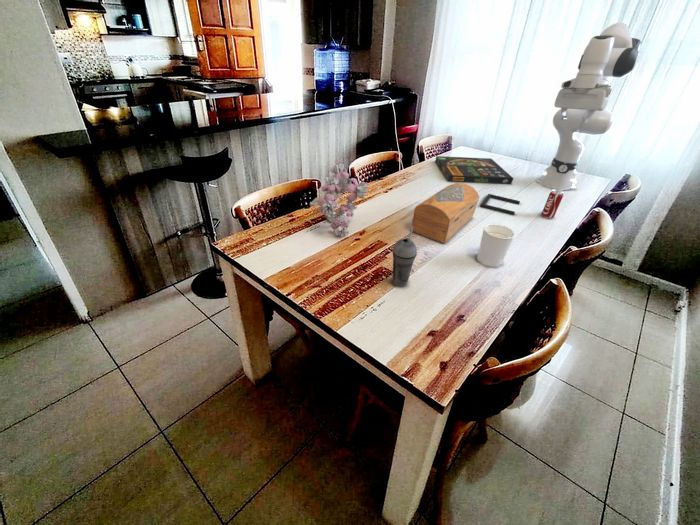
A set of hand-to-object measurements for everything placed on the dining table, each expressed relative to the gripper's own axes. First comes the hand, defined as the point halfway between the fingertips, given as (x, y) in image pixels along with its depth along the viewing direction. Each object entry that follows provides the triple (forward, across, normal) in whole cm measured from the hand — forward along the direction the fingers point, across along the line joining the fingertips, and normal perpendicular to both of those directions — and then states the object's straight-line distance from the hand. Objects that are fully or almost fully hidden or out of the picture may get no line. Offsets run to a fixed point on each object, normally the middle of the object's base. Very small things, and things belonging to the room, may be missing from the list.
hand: (573, 121), depth 136 cm
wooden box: (+42, +2, +56) cm, 70 cm away
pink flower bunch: (+44, +12, +99) cm, 108 cm away
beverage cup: (+47, -27, +93) cm, 107 cm away
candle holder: (+44, -26, +56) cm, 76 cm away
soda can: (+39, -7, +5) cm, 40 cm away
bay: (+38, +9, +17) cm, 43 cm away
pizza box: (+33, +52, 0) cm, 62 cm away
